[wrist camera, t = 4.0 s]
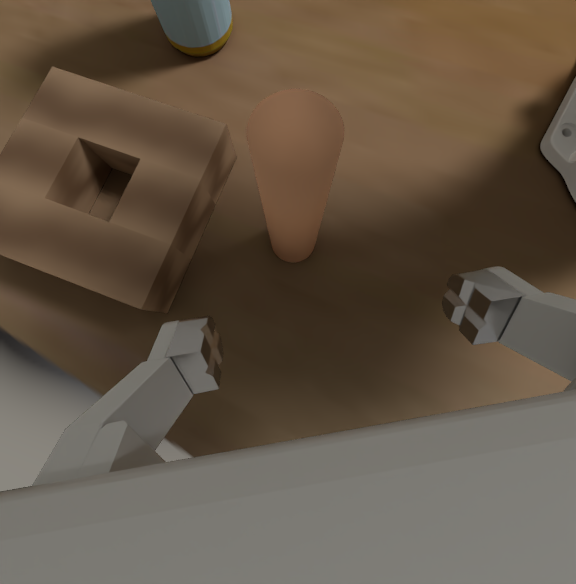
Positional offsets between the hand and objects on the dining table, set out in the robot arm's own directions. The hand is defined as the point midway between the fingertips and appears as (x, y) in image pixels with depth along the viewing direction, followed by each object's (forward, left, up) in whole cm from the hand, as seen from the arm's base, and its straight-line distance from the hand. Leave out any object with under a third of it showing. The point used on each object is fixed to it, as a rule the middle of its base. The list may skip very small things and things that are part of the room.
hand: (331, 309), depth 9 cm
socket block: (-4, -20, -13) cm, 24 cm away
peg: (-6, -4, -14) cm, 15 cm away
